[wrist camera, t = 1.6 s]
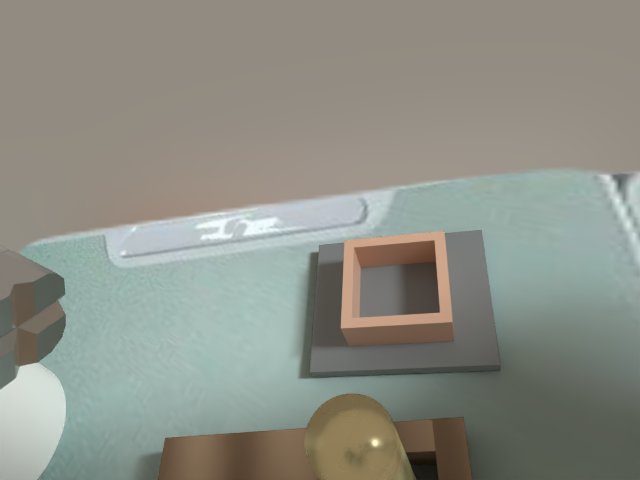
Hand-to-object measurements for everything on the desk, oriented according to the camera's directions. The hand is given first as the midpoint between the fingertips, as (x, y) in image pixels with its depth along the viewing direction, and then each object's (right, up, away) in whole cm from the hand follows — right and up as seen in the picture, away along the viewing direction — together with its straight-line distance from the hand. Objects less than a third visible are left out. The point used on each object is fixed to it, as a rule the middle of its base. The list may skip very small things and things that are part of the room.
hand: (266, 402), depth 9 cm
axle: (+6, -15, +27) cm, 32 cm away
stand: (+7, -3, +36) cm, 37 cm away
